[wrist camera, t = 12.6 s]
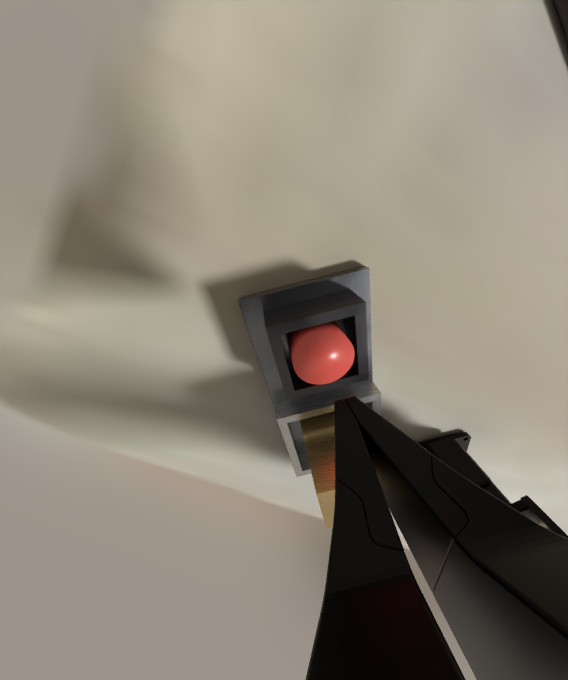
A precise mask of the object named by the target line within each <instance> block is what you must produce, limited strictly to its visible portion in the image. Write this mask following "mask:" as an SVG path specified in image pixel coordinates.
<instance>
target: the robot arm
mask: <svg viewBox="0 0 568 680" xmlns="http://www.w3.org/2000/svg"><path fill="white" fill-rule="evenodd" d="M334 429H335V507H334V518H333V529H332V537H331V545H330V554H329V563H328V571H327V578H326V586H325V592H324V598H323V604H322V609H321V613H320V618H319V622H318V627H317V631H316V635H315V640H314V644H313V649H312V653H311V658H310V662H309V667H308V672H307V676H306V680H465V678H464V676H463V674H462V672H461V670H460V668H459V666H458V664H457V662H456V660H455V658H454V656H453V654H452V652H451V650H450V648H449V646H448V644H447V642H446V640H445V638H444V636H443V634H442V632H441V630H440V628H439V626H438V624H437V622H436V620H435V618H434V616H433V614H432V612H431V610H430V608H429V606H428V604H427V602H426V600H425V598H424V596H423V594H422V592H421V590H420V588H419V586H418V584H417V582H416V580H415V577H414V575H413V573H412V570H411V568H410V565H409V563H408V560H407V557H406V555H405V553H404V549H403V546H402V543H401V541H400V538H399V535H398V532H397V530H396V527H395V524H394V521H393V518H392V516H391V513H392V515H393V517H394V519H395V521H396V523H397V525H398V527H399V529H400V530H401V532H402V534H403V536H404V538H405V540H406V542H407V544H408V546H409V548H410V550H411V552H412V554H413V556H414V558H415V560H416V562H417V564H418V566H419V567H420V569H421V571H422V573H423V575H424V577H425V579H426V581H427V583H428V585H429V587H430V589H431V591H432V592H433V595H434V597H435V599H436V601H437V603H438V605H439V607H440V609H441V611H442V613H443V615H444V616H445V618H446V620H447V622H448V624H449V626H450V628H451V630H452V632H453V634H454V636H455V638H456V640H457V642H458V644H459V646H460V648H461V650H462V652H463V654H464V656H465V657H466V659H467V661H468V663H469V665H470V667H471V669H472V671H473V673H474V675H475V677H476V679H477V680H568V536H567V535H566V534H565V533H564V532H563V531H562V530H561V529H560V528H559V527H558V526H557V525H556V524H555V523H554V522H553V521H552V520H551V519H550V518H549V517H548V516H547V515H546V514H545V513H544V512H543V511H542V510H541V509H540V508H539V507H538V506H537V505H536V504H535V503H534V502H533V501H532V500H531V499H530V498H529V497H528V496H527V495H526V496H524V497H522V498H520V499H521V500H519V501H517V502H515V503H512V504H511V503H510V502H509V500H508V499H507V498H506V497H505V496H504V495H503V494H502V493H501V491H500V490H499V489H498V488H497V487H496V486H495V485H494V483H493V482H492V481H491V479H490V478H489V477H488V476H487V474H486V473H485V472H484V471H483V470H482V469H481V468H480V467H479V465H478V464H477V463H476V462H475V461H474V460H473V459H472V458H471V456H470V455H469V454H468V453H467V448H468V445H469V442H470V439H471V436H470V435H469V434H468V433H467V432H463V433H459V434H455V435H451V436H448V437H444V438H440V439H436V440H432V441H428V442H424V443H420V444H418V443H417V442H415V441H414V440H413V439H411V438H410V437H409V436H407V435H406V434H405V433H403V432H402V431H401V430H399V429H398V428H397V427H395V426H394V425H393V424H391V423H390V422H389V421H387V420H386V419H385V418H383V417H382V416H381V415H379V414H378V413H377V412H375V411H374V410H373V409H371V408H370V407H369V406H367V405H366V404H365V403H363V402H362V401H361V400H359V399H358V398H356V397H355V396H350V397H346V398H345V399H343V398H342V399H338V400H335V401H334ZM389 509H390V510H389ZM390 511H391V513H390ZM539 524H540V525H539Z"/></svg>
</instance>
